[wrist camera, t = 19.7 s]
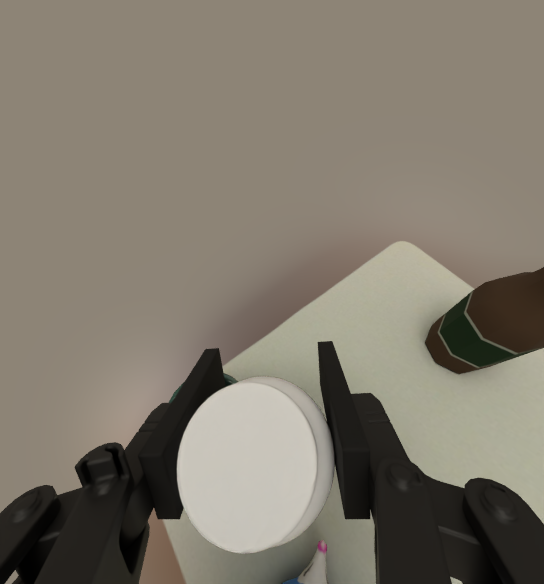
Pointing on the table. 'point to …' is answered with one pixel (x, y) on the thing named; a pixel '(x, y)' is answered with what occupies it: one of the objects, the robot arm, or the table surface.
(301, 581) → the blue mole toy
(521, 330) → the beer bottle
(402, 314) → the table surface
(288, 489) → the pill bottle
